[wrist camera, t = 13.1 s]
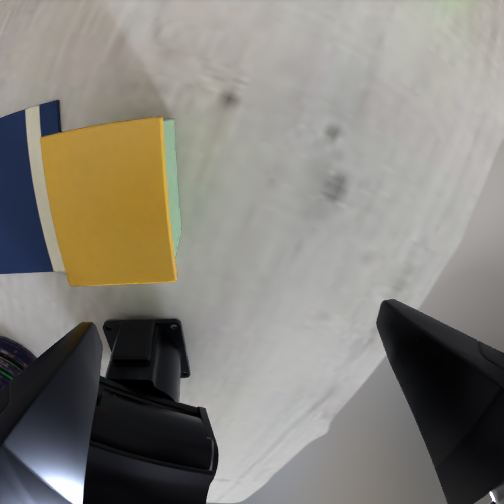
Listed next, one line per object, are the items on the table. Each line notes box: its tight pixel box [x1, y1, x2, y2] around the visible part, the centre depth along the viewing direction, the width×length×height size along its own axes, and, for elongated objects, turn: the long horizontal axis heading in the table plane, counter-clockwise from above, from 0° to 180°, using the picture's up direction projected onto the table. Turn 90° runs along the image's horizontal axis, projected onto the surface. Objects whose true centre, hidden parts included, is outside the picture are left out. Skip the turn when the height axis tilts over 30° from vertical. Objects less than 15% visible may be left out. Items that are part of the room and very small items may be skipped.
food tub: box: [40, 117, 181, 286], centre depth 15 cm, size 8×6×6 cm
